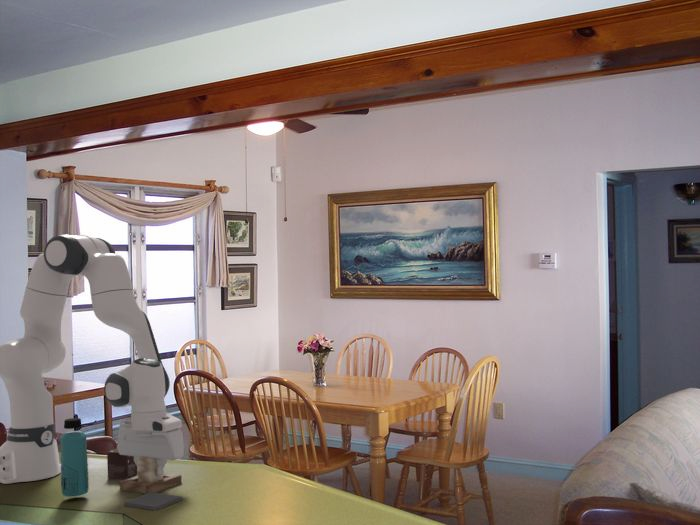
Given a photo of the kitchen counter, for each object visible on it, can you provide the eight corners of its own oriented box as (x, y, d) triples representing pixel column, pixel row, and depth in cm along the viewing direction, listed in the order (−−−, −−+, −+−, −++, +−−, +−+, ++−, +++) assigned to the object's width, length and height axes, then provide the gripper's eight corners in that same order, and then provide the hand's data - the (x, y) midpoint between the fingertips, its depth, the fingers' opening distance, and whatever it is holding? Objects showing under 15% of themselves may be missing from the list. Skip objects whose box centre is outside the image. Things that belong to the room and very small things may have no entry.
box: (127, 479, 205) (126, 452, 205) (107, 479, 206) (106, 452, 206) (138, 473, 211) (137, 447, 211) (118, 473, 212) (117, 447, 212)
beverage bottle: (95, 496, 189) (92, 416, 190) (75, 504, 183) (72, 421, 184) (75, 494, 192) (73, 415, 193) (55, 501, 186) (52, 420, 187)
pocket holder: (119, 489, 195) (119, 481, 195) (149, 478, 205) (149, 471, 205) (152, 494, 190) (151, 486, 190) (181, 482, 199) (181, 475, 199)
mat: (124, 505, 181) (124, 502, 181) (150, 495, 189) (150, 492, 189) (155, 510, 176) (155, 507, 176) (181, 499, 184) (181, 496, 184)
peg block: (138, 487, 196) (137, 456, 196) (150, 483, 200) (149, 452, 200) (151, 489, 194) (150, 458, 194) (163, 484, 198) (162, 454, 198)
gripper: (110, 421, 200) (112, 473, 199) (170, 425, 190) (172, 480, 190) (128, 416, 205) (129, 467, 205) (186, 421, 195) (188, 474, 195)
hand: (150, 474), depth 197 cm, fingers closed on peg block, 4 cm apart
